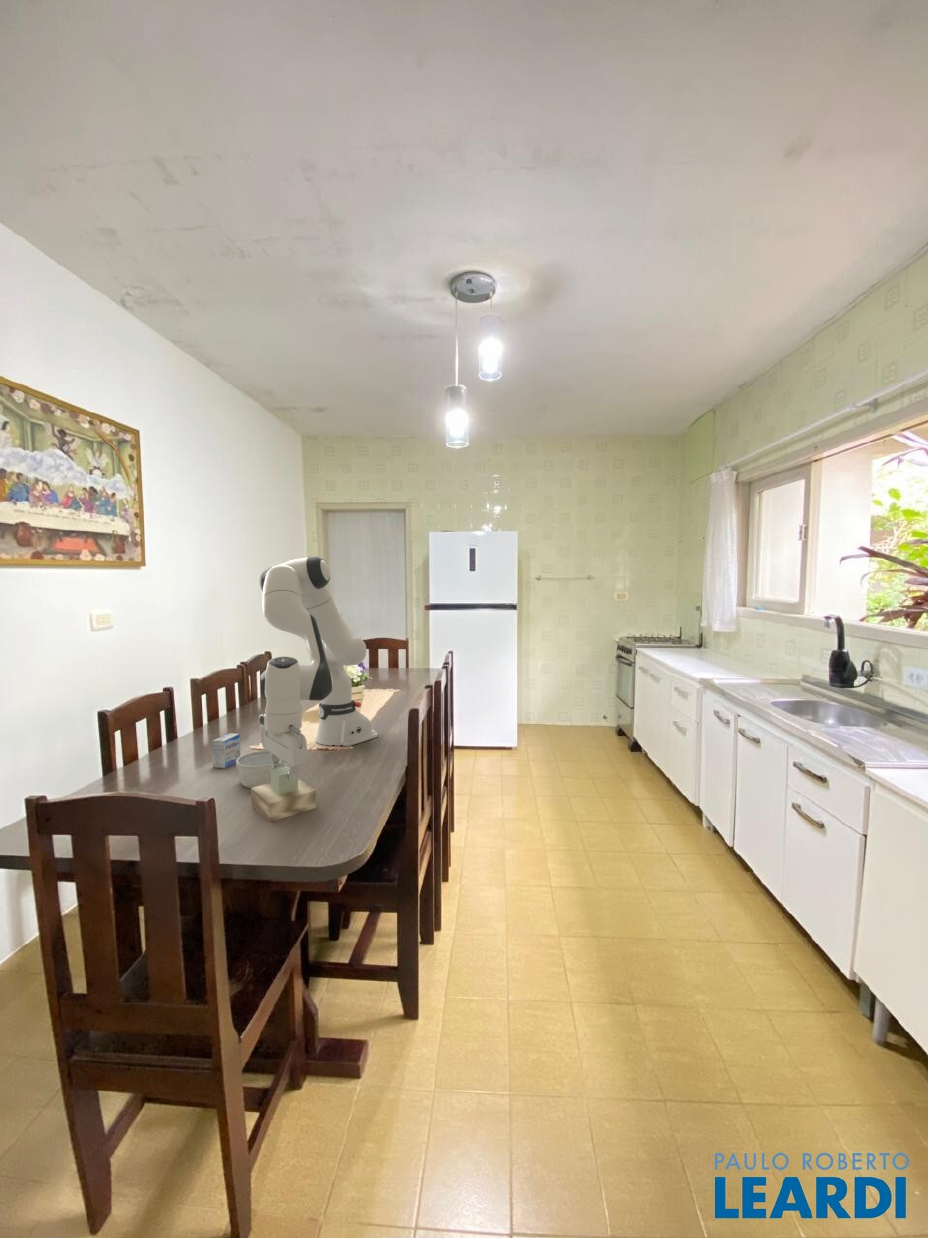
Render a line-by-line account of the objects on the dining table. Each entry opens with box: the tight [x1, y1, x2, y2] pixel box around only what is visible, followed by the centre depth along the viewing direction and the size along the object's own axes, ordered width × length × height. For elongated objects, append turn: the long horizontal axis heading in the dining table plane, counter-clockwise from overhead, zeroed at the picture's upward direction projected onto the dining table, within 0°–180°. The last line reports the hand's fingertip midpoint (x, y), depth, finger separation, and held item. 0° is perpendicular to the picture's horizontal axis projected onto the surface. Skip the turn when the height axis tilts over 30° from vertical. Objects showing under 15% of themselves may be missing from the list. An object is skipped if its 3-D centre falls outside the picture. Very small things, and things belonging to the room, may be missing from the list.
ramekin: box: [235, 749, 285, 789], centre depth 149 cm, size 13×13×7 cm
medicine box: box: [211, 732, 241, 769], centre depth 162 cm, size 8×4×9 cm, turn 168°
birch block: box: [250, 778, 317, 822], centre depth 133 cm, size 12×12×5 cm
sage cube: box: [271, 765, 299, 795], centre depth 133 cm, size 5×5×5 cm
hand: (284, 774), depth 133 cm, fingers open, 8 cm apart
